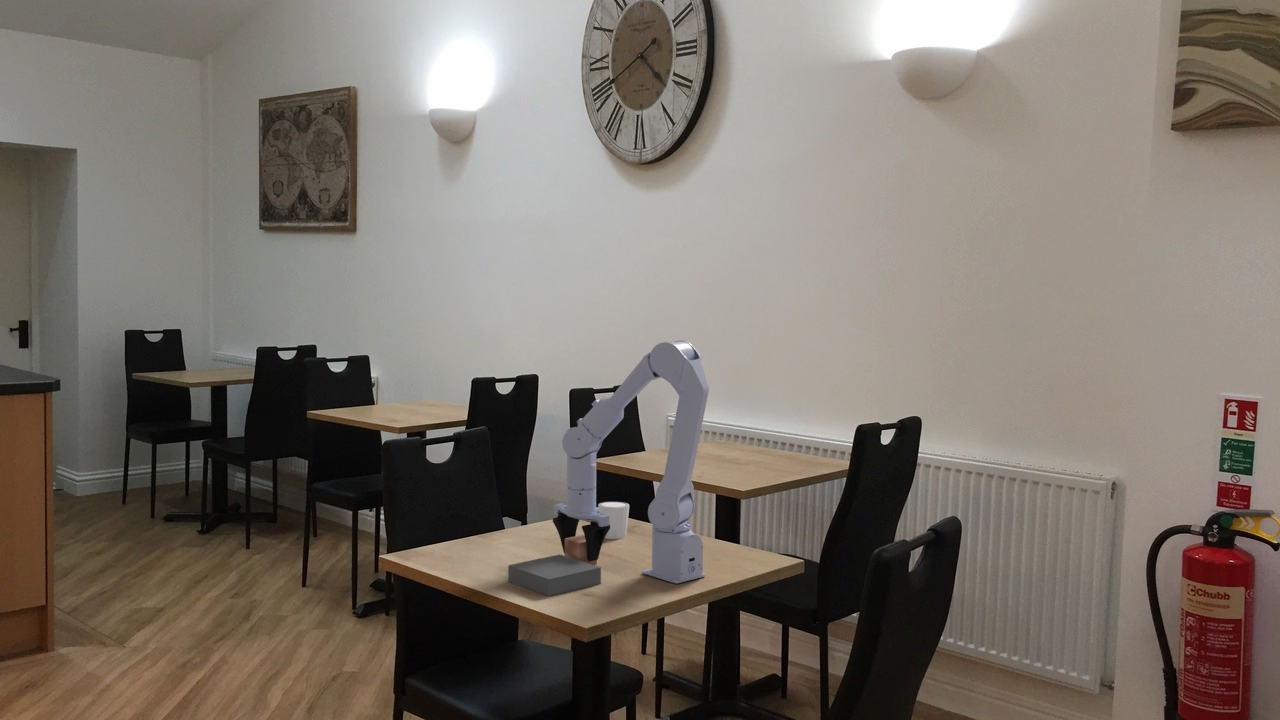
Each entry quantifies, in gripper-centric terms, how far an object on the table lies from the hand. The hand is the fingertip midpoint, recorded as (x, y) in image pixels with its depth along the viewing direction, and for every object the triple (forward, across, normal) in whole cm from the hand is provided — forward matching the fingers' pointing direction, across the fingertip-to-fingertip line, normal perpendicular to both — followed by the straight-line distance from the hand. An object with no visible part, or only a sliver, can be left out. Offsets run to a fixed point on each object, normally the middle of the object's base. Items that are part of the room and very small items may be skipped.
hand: (580, 556), depth 202 cm
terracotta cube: (+2, 0, 0) cm, 2 cm away
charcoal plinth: (+1, -7, +12) cm, 14 cm away
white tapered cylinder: (+2, +13, -20) cm, 24 cm away
